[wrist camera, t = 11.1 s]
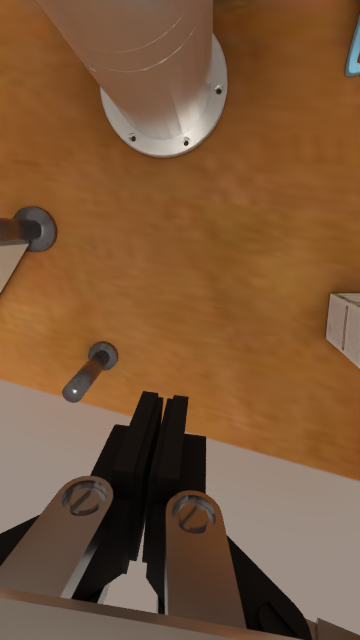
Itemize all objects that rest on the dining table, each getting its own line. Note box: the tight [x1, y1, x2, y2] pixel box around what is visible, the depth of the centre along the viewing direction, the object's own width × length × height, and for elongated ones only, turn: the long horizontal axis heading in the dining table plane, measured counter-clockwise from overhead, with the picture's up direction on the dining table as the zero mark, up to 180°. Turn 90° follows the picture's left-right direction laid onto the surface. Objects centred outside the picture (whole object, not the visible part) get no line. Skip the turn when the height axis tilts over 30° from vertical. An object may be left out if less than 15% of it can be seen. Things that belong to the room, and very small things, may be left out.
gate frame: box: [0, 207, 118, 403], centre depth 34 cm, size 21×16×12 cm
